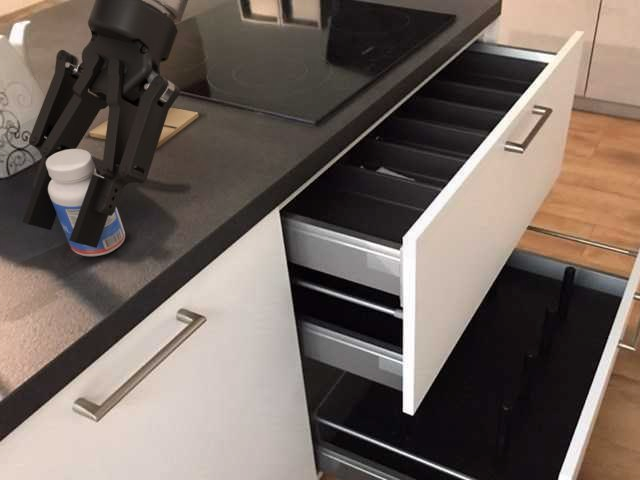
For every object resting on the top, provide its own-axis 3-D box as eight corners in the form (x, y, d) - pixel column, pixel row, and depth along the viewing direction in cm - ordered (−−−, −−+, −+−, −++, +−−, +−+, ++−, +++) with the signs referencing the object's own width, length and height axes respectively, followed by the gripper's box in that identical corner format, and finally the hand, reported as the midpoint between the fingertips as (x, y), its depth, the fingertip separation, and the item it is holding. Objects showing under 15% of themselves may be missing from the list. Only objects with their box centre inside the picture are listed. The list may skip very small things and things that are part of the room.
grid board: (91, 140, 86) (88, 131, 85) (138, 108, 93) (136, 100, 92) (156, 154, 83) (153, 144, 82) (199, 120, 90) (197, 111, 89)
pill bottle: (72, 231, 69) (39, 148, 62) (125, 223, 70) (99, 140, 64) (69, 262, 65) (34, 177, 58) (126, 253, 66) (98, 168, 60)
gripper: (239, 44, 64) (159, 269, 63) (98, 11, 70) (25, 217, 69) (192, 2, 56) (102, 256, 56) (40, -30, 62) (-42, 199, 62)
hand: (59, 234), depth 63 cm, fingers closed on pill bottle, 5 cm apart
